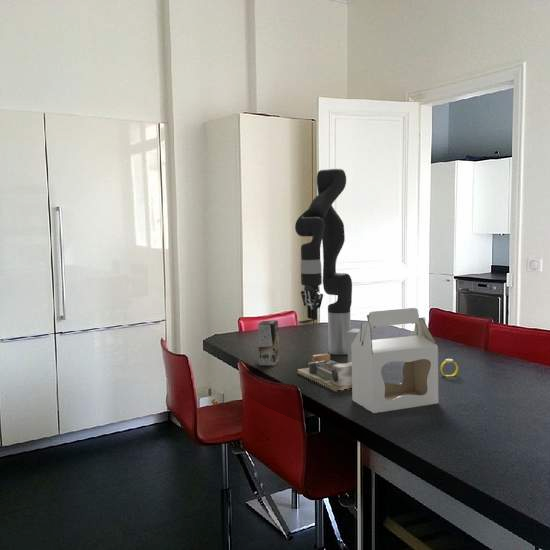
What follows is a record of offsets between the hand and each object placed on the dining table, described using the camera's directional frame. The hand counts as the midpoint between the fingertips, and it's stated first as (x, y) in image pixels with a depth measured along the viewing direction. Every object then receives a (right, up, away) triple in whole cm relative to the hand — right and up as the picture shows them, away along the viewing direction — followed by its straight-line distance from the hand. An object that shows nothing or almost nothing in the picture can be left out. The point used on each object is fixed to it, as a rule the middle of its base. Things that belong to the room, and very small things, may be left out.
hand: (312, 318), depth 211 cm
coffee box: (-16, -19, +14) cm, 28 cm away
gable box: (+22, -22, -39) cm, 50 cm away
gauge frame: (+7, -20, -12) cm, 24 cm away
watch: (+47, -19, -13) cm, 52 cm away
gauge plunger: (+2, -18, -7) cm, 19 cm away
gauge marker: (-1, -18, -11) cm, 21 cm away
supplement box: (+19, -18, +10) cm, 28 cm away
